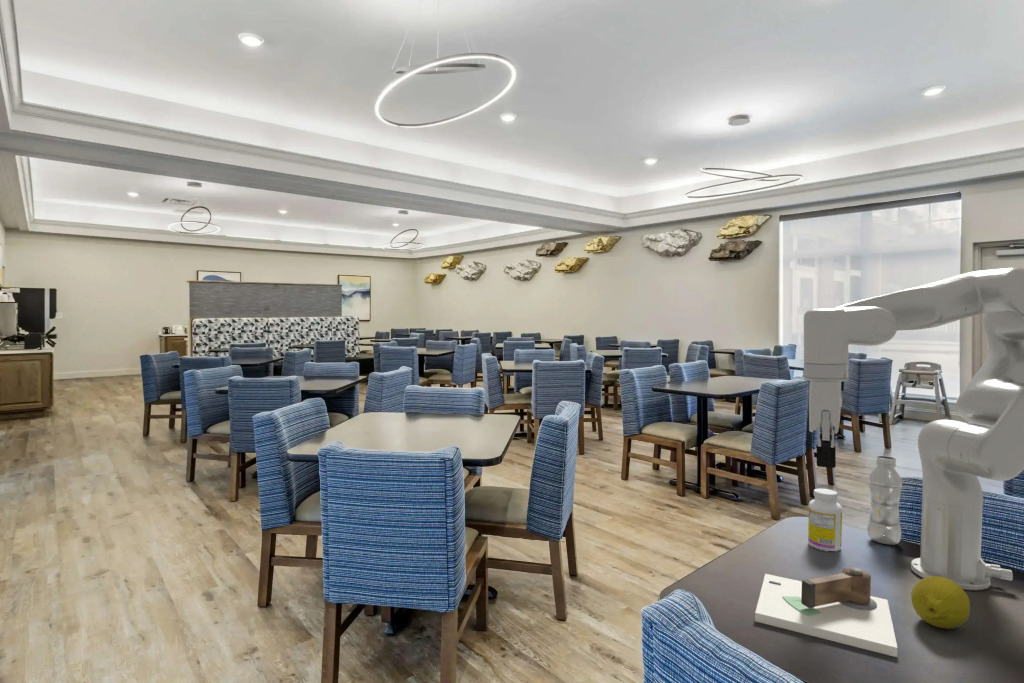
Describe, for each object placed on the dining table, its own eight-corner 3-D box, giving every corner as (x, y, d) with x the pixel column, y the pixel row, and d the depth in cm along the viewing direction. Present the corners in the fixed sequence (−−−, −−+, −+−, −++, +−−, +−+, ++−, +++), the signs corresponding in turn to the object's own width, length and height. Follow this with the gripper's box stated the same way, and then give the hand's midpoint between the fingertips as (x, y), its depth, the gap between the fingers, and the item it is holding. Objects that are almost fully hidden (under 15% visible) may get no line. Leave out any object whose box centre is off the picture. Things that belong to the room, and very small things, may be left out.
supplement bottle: (823, 539, 130) (824, 485, 130) (848, 550, 124) (849, 494, 124) (801, 543, 128) (802, 488, 128) (825, 554, 122) (827, 497, 121)
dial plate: (887, 607, 99) (887, 598, 99) (897, 657, 84) (897, 646, 84) (765, 581, 109) (765, 572, 109) (755, 621, 94) (755, 611, 94)
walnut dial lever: (853, 590, 101) (854, 563, 101) (876, 601, 97) (877, 573, 97) (795, 601, 97) (795, 573, 97) (816, 614, 93) (816, 585, 92)
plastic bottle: (906, 549, 125) (909, 461, 124) (873, 546, 126) (876, 460, 126) (893, 538, 131) (896, 455, 131) (861, 536, 133) (864, 453, 132)
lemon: (926, 607, 99) (928, 563, 99) (980, 627, 93) (982, 581, 92) (896, 623, 94) (898, 577, 94) (951, 646, 87) (953, 597, 87)
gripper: (805, 368, 115) (805, 455, 116) (802, 375, 102) (802, 473, 103) (847, 369, 111) (847, 459, 112) (849, 376, 98) (850, 478, 99)
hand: (826, 466), depth 107 cm, fingers closed
